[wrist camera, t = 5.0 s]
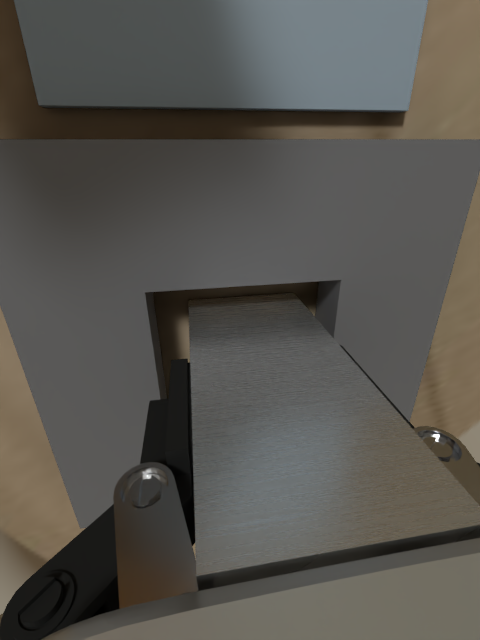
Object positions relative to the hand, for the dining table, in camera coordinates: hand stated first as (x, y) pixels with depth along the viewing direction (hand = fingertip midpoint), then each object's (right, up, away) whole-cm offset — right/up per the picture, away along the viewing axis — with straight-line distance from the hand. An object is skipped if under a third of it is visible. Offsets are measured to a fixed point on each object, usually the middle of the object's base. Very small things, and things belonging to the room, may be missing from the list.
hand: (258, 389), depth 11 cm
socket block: (-1, +1, +3) cm, 3 cm away
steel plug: (0, +1, +3) cm, 3 cm away
